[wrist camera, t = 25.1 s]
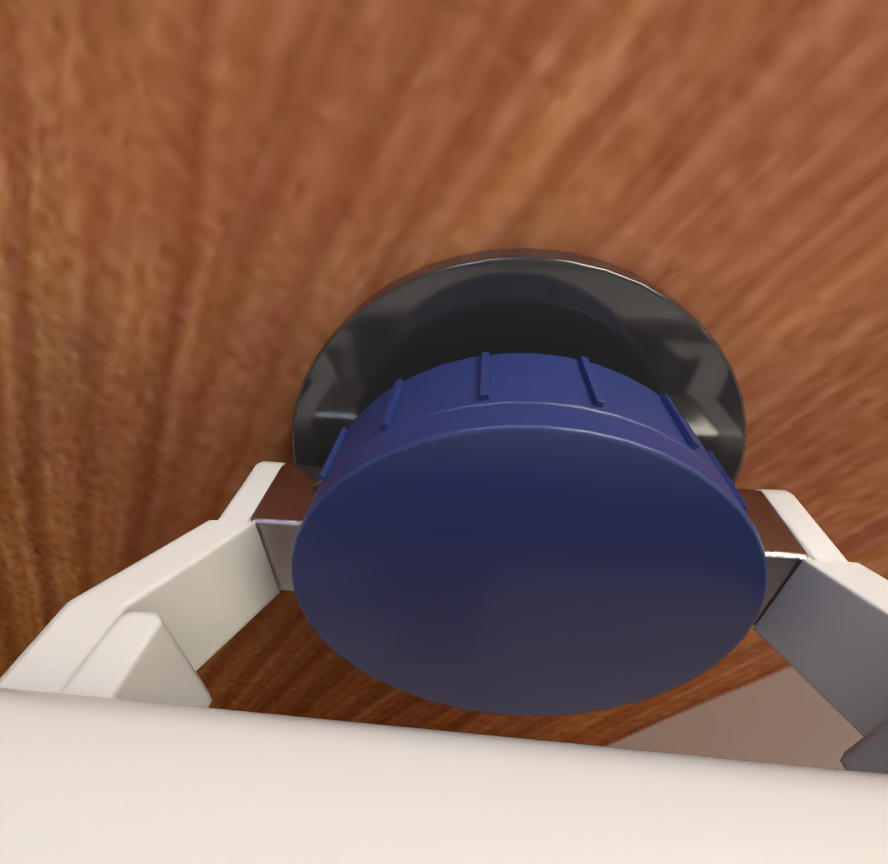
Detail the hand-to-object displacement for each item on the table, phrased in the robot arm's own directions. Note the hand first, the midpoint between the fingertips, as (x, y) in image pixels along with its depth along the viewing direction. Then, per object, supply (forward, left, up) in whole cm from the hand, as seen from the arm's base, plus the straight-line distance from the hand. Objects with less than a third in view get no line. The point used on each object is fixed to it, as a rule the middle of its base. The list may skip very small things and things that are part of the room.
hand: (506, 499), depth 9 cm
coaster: (0, 0, -1) cm, 1 cm away
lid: (0, 0, +2) cm, 2 cm away
